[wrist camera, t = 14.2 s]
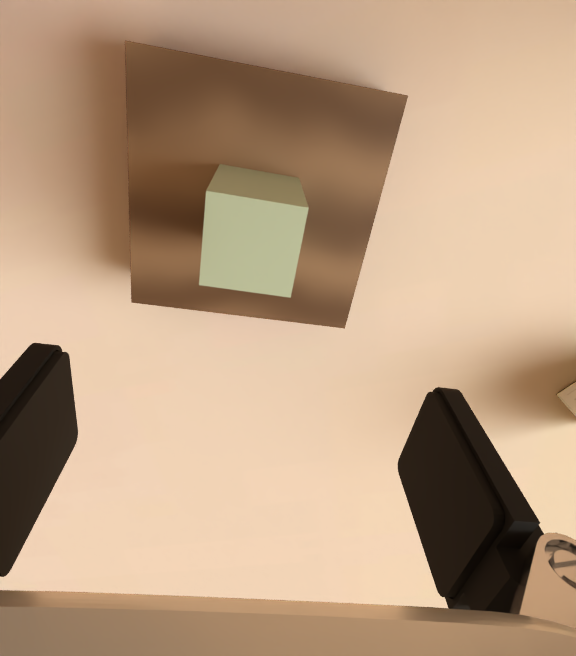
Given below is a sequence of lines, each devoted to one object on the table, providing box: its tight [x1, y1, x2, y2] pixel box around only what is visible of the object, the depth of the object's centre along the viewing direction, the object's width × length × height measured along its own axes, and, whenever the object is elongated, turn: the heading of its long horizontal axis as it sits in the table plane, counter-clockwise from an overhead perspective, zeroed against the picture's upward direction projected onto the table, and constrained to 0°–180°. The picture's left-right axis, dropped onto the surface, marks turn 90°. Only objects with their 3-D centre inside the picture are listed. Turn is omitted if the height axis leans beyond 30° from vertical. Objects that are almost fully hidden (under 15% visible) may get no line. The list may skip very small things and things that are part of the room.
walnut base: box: [125, 41, 408, 328], centre depth 30 cm, size 16×16×5 cm
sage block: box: [199, 164, 309, 298], centre depth 25 cm, size 5×5×7 cm
